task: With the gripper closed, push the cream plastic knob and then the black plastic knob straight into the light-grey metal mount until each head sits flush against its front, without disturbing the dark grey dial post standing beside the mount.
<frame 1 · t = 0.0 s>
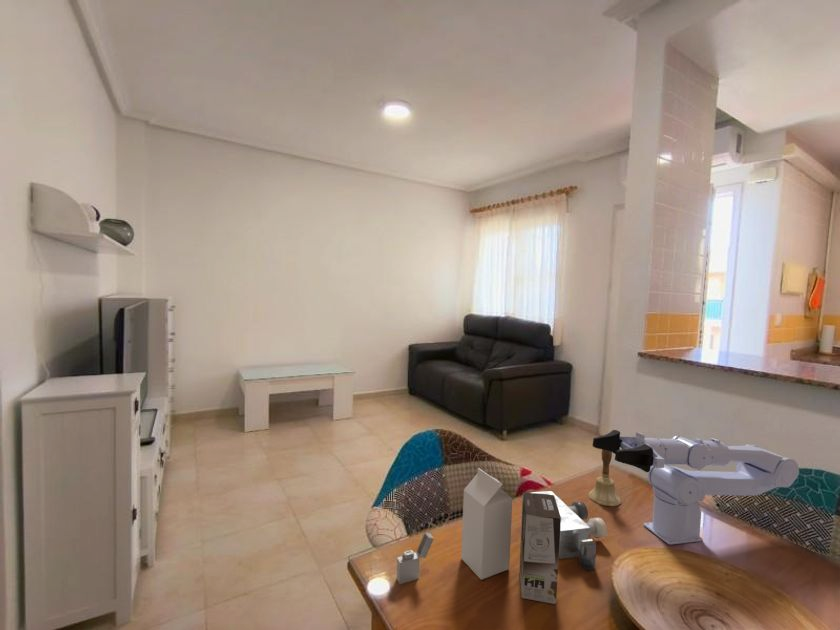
hand: (604, 448, 90), 22 cm above the table, tool horizontal, fingers open, 7 cm apart
milk carton: (484, 565, 82), on the table
coffee box: (536, 585, 77), on the table
hand bell: (604, 499, 111), on the table
knob cream: (586, 528, 91), point 3 cm above the table, slide at 4.0 cm
lighter: (414, 577, 78), on the table
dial: (587, 566, 83), on the table
mount: (567, 533, 94), on the table
knob black: (569, 511, 98), point 3 cm above the table, slide at 4.0 cm
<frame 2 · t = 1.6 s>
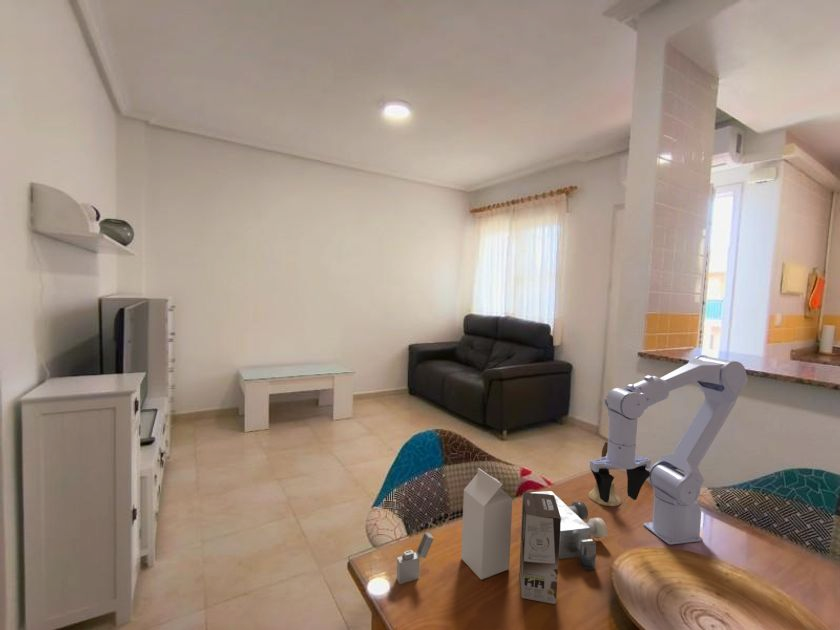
hand: (618, 498, 92), 9 cm above the table, tool pointing down, fingers open, 7 cm apart
nothing on the table moved.
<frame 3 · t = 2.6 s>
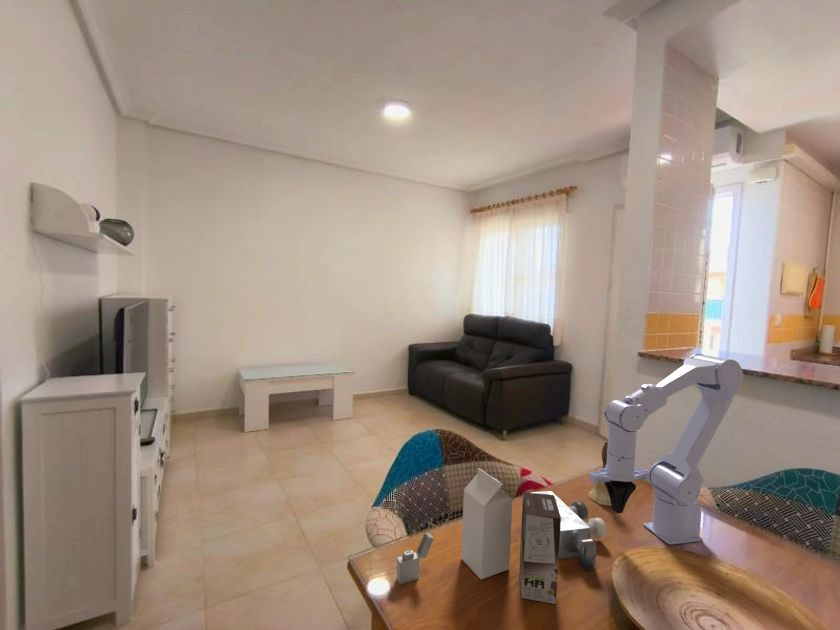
hand: (617, 510, 92), 7 cm above the table, tool pointing down, fingers closed
nothing on the table moved.
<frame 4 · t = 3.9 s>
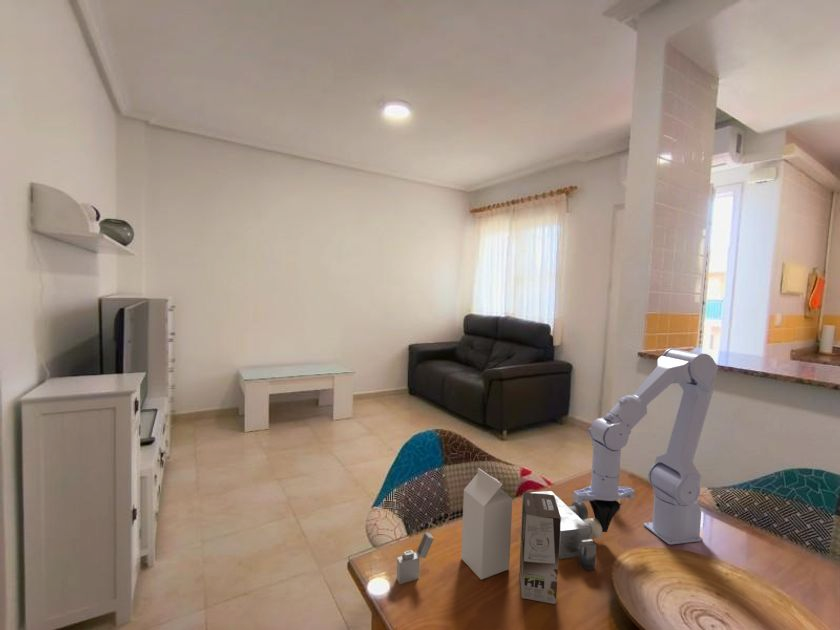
hand: (601, 529, 92), 2 cm above the table, tool pointing down, fingers closed
knob cream: (581, 529, 91), point 3 cm above the table, slide at 2.8 cm, touching gripper
everything else where it was.
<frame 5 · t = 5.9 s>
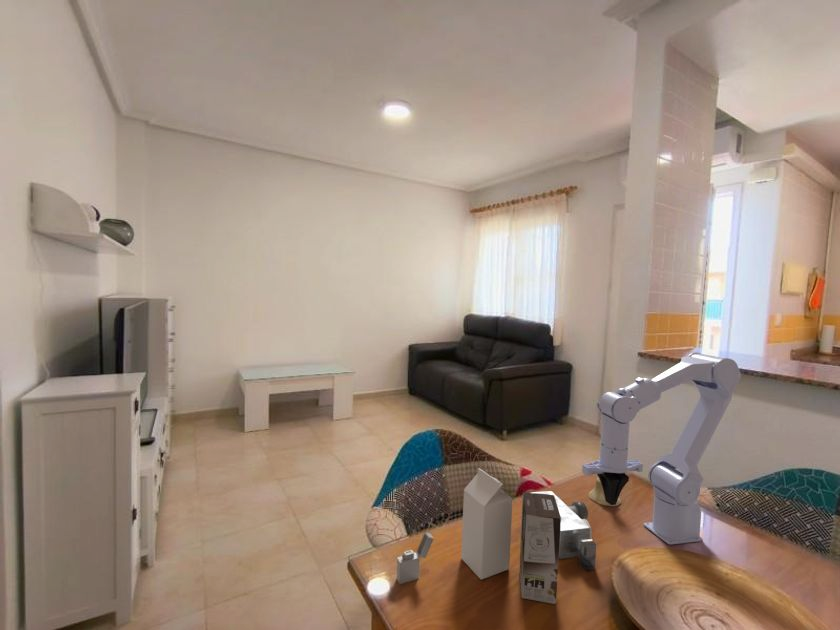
hand: (610, 502, 92), 8 cm above the table, tool pointing down, fingers closed
knob cream: (571, 530, 90), point 3 cm above the table, slide at 0.1 cm
everything else where it was.
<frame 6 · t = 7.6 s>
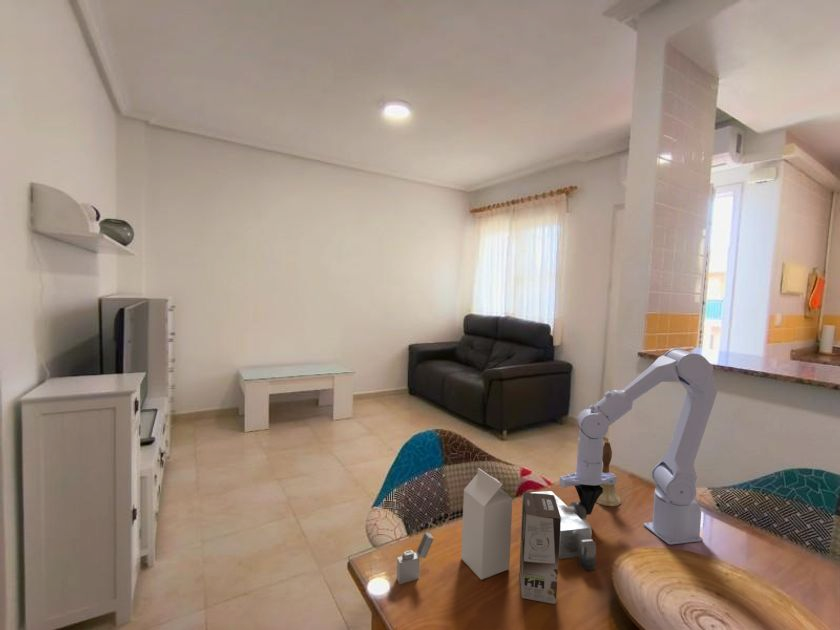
hand: (586, 512, 99), 2 cm above the table, tool pointing down, fingers closed
knob black: (567, 512, 98), point 3 cm above the table, slide at 3.6 cm, touching gripper
everything else where it was.
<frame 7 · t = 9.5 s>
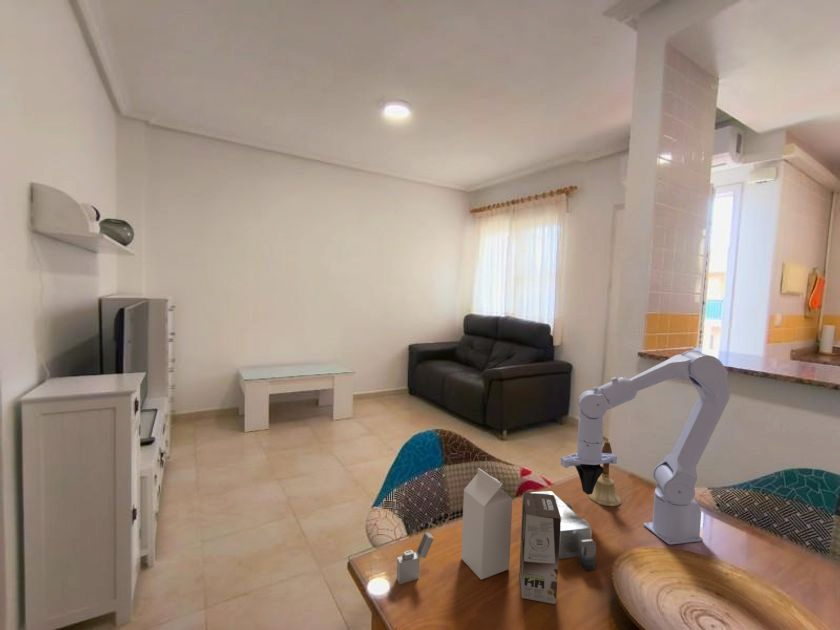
hand: (587, 492, 100), 7 cm above the table, tool pointing down, fingers closed
knob black: (554, 513, 97), point 3 cm above the table, slide at 0.1 cm
everything else where it was.
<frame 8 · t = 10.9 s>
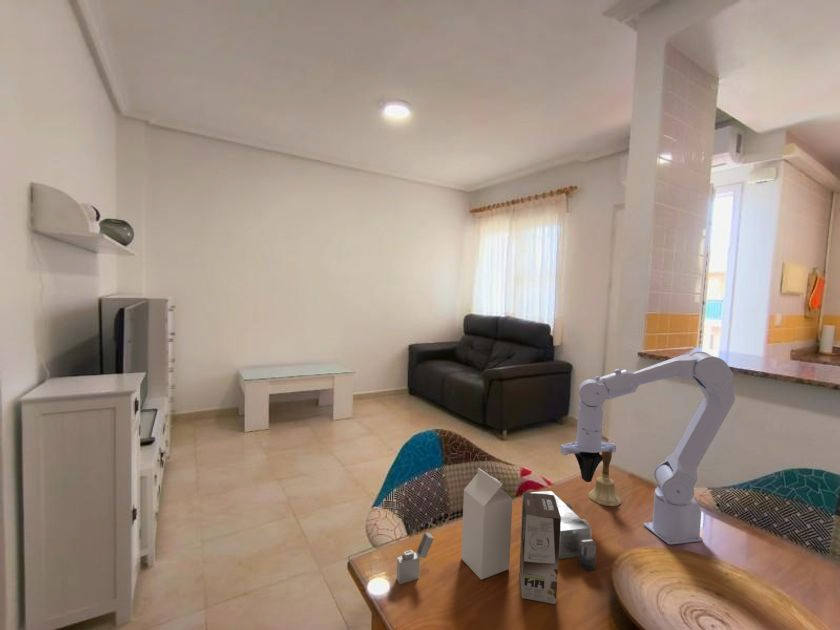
hand: (586, 480, 101), 9 cm above the table, tool pointing down, fingers closed
nothing on the table moved.
at the end: knob cream slide at 0.1 cm; knob black slide at 0.1 cm; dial tilted 0° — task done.
